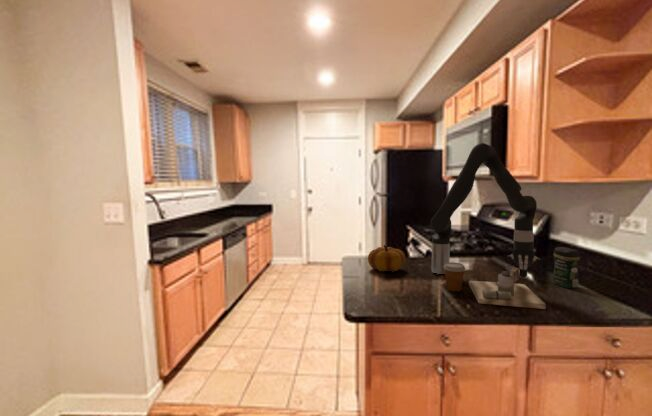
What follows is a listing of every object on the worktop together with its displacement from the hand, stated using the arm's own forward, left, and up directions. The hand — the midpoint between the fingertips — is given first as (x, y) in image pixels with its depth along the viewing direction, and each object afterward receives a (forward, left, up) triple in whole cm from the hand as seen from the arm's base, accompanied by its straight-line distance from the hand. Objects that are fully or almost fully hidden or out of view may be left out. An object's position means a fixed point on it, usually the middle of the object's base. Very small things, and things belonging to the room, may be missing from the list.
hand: (523, 277), depth 134 cm
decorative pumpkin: (-64, +22, -7) cm, 68 cm away
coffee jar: (+22, +15, -7) cm, 28 cm away
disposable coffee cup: (-30, -3, -7) cm, 31 cm away
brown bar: (-6, -5, -5) cm, 9 cm away
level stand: (-10, -6, -7) cm, 14 cm away
